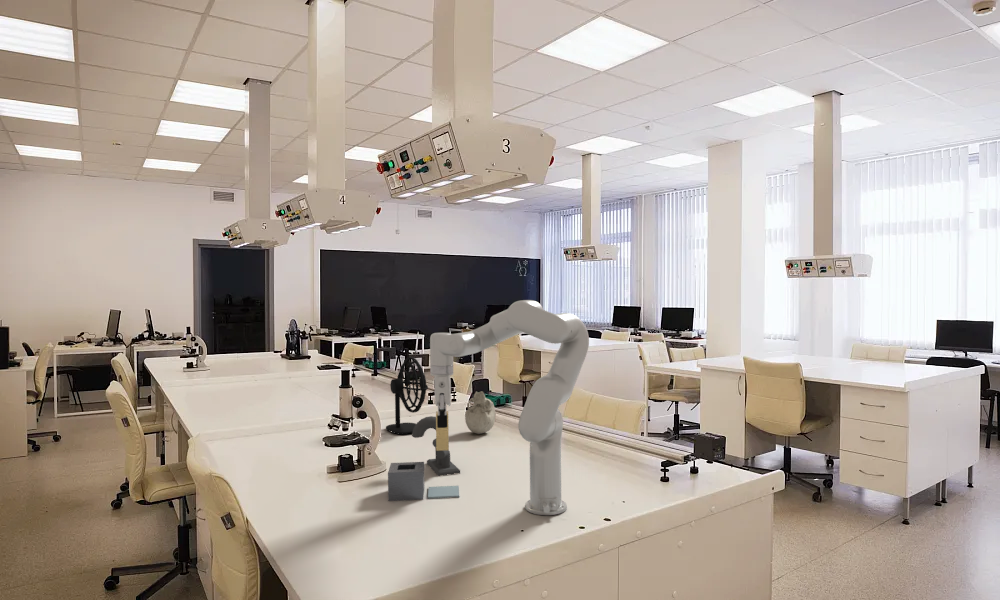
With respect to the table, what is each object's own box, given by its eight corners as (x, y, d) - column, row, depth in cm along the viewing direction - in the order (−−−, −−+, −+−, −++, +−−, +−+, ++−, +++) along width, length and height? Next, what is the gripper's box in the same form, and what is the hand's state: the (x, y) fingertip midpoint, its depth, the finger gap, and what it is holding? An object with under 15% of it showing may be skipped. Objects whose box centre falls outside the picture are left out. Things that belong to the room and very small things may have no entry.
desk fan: (435, 433, 281) (434, 358, 281) (400, 438, 272) (399, 361, 271) (412, 422, 304) (411, 354, 304) (379, 427, 295) (378, 356, 294)
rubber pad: (459, 497, 192) (459, 495, 192) (428, 498, 192) (427, 496, 192) (458, 487, 202) (458, 485, 202) (428, 488, 202) (428, 486, 202)
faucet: (407, 465, 229) (406, 413, 229) (447, 460, 235) (446, 410, 235) (418, 479, 212) (417, 422, 212) (460, 473, 218) (459, 419, 218)
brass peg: (448, 450, 195) (448, 413, 195) (436, 450, 195) (435, 413, 195) (448, 447, 199) (448, 411, 199) (436, 447, 199) (436, 411, 199)
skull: (462, 436, 275) (462, 392, 275) (473, 428, 289) (472, 387, 289) (488, 437, 271) (488, 393, 271) (498, 430, 285) (498, 388, 285)
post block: (423, 499, 191) (422, 471, 191) (388, 501, 190) (387, 472, 190) (424, 488, 202) (424, 461, 202) (391, 489, 201) (391, 462, 201)
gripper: (453, 373, 188) (454, 431, 189) (453, 366, 205) (453, 420, 205) (429, 374, 188) (430, 432, 188) (431, 367, 204) (431, 420, 205)
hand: (442, 425), depth 197 cm, fingers closed on brass peg, 4 cm apart
